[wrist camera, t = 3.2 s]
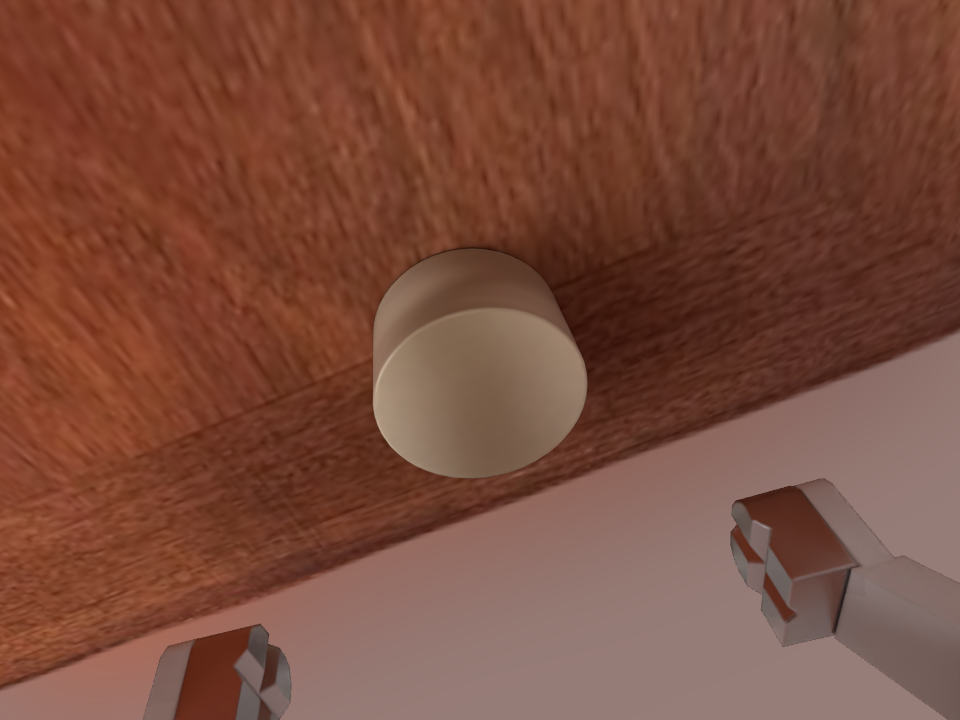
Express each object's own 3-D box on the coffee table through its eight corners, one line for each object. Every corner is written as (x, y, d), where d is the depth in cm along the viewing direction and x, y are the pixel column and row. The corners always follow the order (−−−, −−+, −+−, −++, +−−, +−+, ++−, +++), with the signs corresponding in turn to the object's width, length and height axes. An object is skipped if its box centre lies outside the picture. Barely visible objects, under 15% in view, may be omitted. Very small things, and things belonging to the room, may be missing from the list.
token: (544, 225, 15) (576, 283, 13) (568, 381, 18) (597, 452, 16) (347, 274, 15) (342, 341, 13) (402, 422, 18) (406, 499, 16)
